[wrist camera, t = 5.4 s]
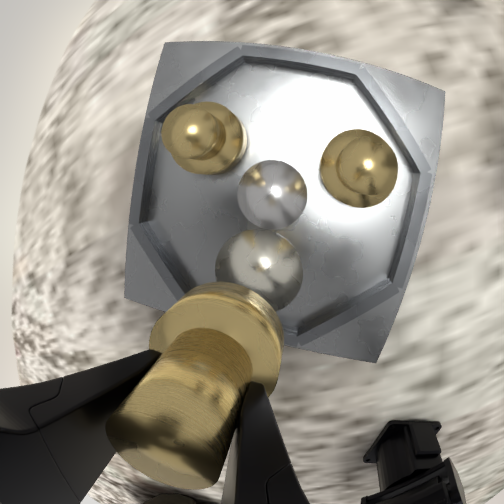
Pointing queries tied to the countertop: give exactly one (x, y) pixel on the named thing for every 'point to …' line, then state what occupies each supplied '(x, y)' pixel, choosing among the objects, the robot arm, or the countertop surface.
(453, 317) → the countertop surface
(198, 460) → the brass cabinet knob
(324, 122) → the tray
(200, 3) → the countertop surface
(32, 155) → the countertop surface
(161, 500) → the stone bowl
